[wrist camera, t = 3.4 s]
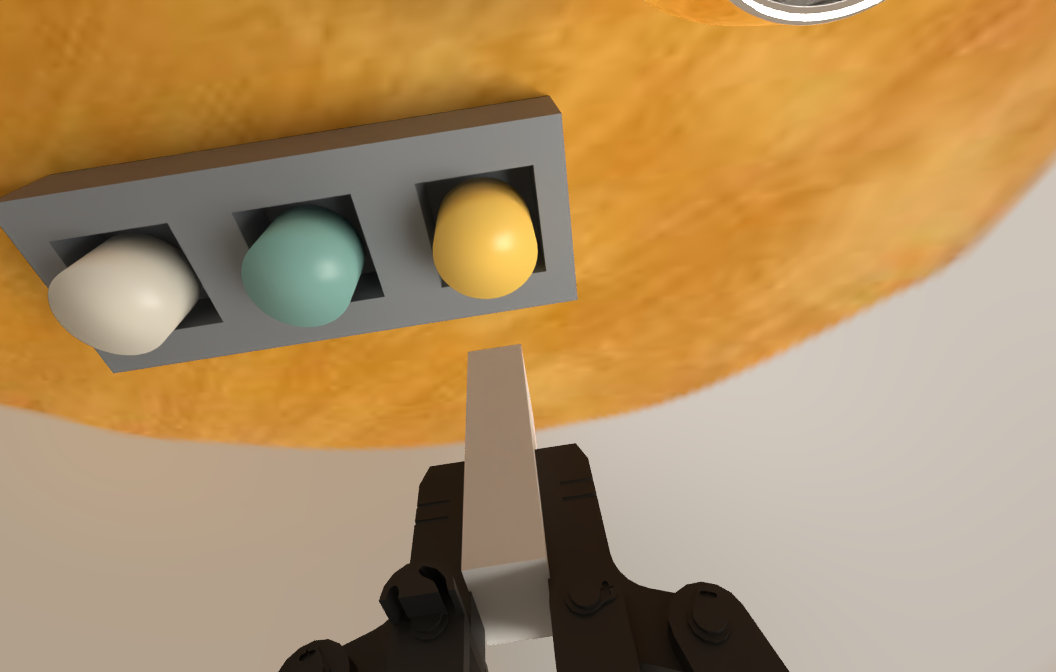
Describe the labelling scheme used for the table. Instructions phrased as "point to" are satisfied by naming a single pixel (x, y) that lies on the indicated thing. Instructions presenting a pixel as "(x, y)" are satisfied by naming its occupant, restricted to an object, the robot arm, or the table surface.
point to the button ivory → (125, 294)
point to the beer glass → (763, 11)
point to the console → (321, 180)
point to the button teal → (304, 266)
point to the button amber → (484, 239)
